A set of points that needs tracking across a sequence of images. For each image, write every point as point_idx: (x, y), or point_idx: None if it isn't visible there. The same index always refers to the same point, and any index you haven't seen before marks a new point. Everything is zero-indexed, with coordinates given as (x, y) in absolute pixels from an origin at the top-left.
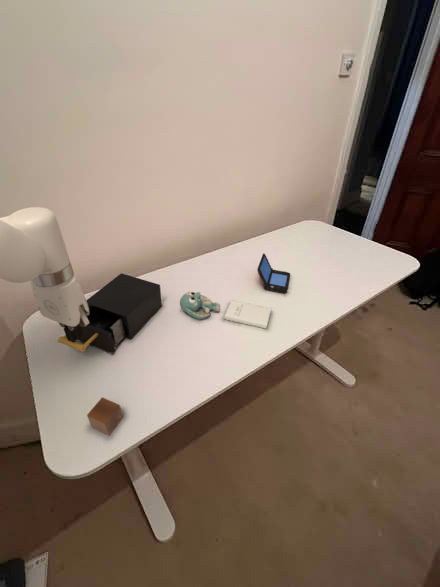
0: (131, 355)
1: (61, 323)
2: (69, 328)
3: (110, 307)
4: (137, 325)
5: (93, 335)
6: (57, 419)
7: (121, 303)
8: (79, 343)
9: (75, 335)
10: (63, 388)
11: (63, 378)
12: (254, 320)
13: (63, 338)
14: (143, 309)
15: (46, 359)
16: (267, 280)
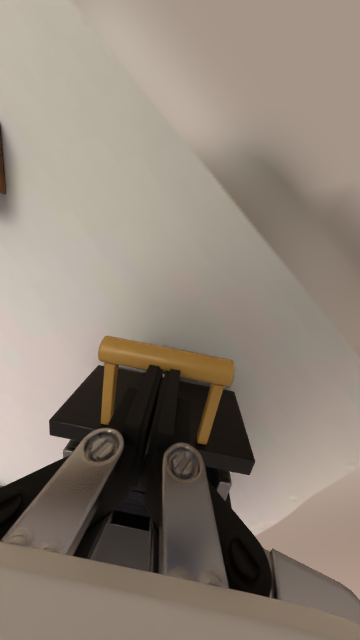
0: (62, 371)
1: (176, 487)
2: (119, 444)
3: (120, 537)
4: None
5: (109, 412)
6: (109, 114)
7: (97, 554)
8: (128, 366)
9: (126, 399)
10: (163, 228)
11: (185, 261)
12: None
13: (210, 377)
14: None
15: (274, 312)
16: None
